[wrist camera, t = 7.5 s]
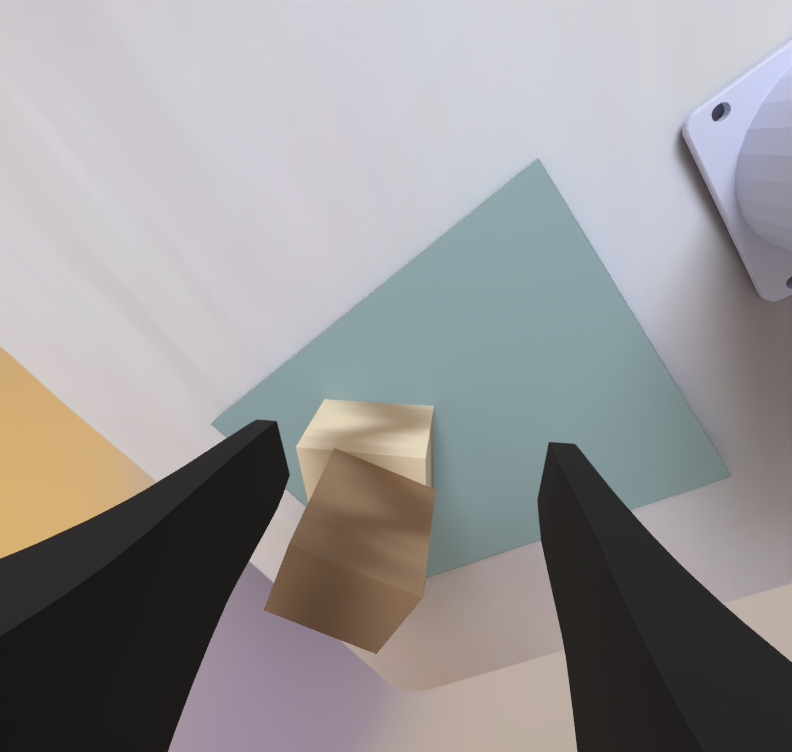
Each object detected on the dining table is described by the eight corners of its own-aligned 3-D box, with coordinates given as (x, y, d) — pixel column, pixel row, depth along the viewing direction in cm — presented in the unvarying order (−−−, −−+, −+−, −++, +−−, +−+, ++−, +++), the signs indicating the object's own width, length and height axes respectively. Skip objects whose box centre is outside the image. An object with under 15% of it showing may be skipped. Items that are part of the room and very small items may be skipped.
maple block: (433, 406, 20) (425, 458, 17) (433, 488, 23) (426, 547, 20) (324, 399, 21) (295, 447, 18) (337, 479, 24) (315, 532, 21)
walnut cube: (435, 489, 18) (423, 597, 14) (396, 548, 20) (376, 654, 16) (334, 447, 18) (289, 544, 13) (308, 512, 20) (263, 610, 16)
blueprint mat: (537, 158, 14) (538, 158, 14) (727, 470, 20) (731, 476, 19) (214, 419, 24) (210, 423, 24) (399, 581, 30) (398, 586, 29)
